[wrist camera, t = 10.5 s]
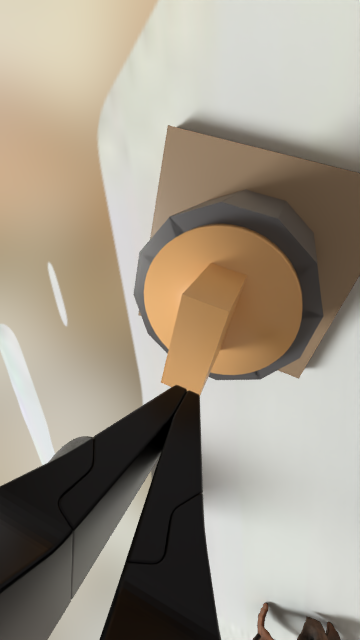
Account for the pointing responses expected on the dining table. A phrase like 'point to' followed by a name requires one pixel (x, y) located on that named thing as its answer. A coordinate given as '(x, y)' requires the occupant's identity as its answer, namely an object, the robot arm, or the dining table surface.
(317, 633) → the brown curved piece
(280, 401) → the dining table surface
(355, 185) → the tube on square plate
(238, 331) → the orange cap
